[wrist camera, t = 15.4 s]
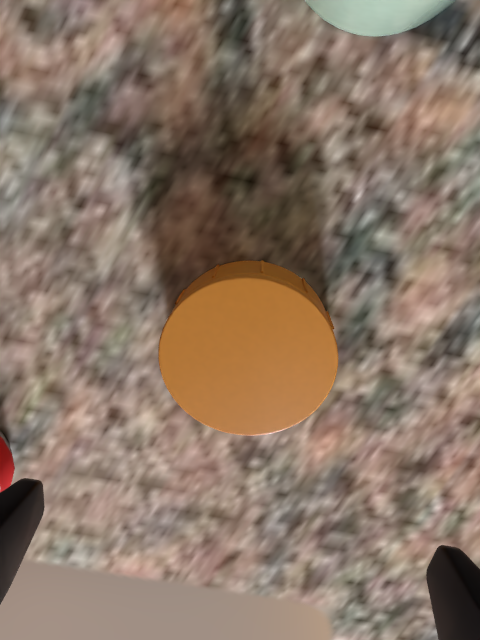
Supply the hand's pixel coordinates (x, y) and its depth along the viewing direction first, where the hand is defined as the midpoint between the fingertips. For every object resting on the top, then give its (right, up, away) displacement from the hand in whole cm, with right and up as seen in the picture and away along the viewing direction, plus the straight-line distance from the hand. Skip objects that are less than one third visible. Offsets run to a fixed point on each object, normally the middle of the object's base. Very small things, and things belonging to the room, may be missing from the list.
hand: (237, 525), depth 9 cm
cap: (0, +3, +7) cm, 8 cm away
